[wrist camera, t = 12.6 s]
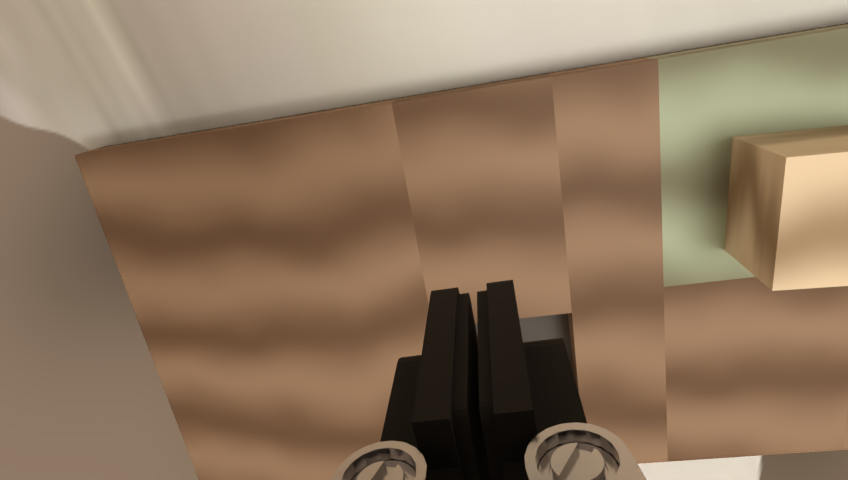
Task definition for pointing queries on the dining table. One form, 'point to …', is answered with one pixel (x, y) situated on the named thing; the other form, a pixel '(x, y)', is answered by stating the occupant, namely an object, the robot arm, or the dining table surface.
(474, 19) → the dining table surface
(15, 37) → the dining table surface
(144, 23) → the dining table surface
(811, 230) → the maple block
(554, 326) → the trap deck
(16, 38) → the dining table surface
